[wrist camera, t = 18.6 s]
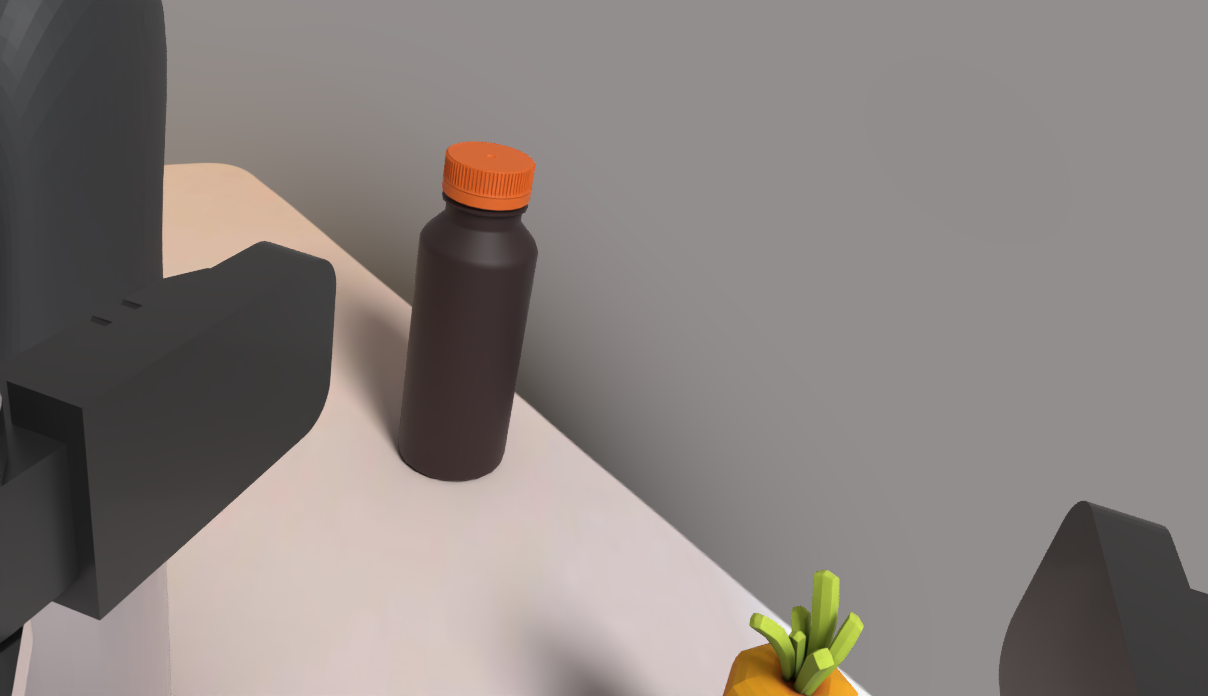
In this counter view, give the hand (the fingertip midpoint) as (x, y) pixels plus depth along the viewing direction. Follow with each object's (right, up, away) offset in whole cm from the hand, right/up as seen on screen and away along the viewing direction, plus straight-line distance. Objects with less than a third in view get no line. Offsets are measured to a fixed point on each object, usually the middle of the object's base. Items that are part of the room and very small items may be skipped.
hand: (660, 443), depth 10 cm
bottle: (-11, -6, +53) cm, 54 cm away
